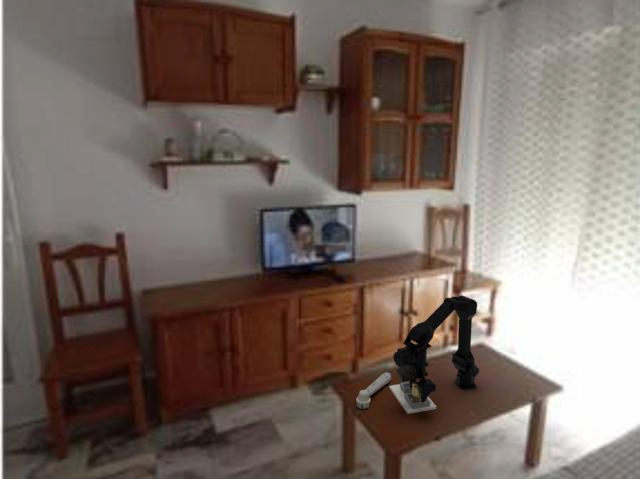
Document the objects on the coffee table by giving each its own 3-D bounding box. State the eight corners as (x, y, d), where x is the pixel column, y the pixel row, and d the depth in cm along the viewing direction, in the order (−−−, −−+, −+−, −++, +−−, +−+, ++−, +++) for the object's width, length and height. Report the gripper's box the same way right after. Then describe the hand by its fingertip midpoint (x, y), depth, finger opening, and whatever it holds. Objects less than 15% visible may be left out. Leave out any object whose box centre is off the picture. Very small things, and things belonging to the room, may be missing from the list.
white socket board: (415, 383, 188) (415, 377, 187) (436, 408, 171) (436, 401, 170) (389, 388, 185) (389, 381, 184) (407, 413, 168) (407, 406, 167)
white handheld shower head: (393, 373, 189) (366, 394, 169) (392, 388, 190) (365, 410, 170) (382, 369, 192) (354, 390, 172) (381, 384, 193) (353, 406, 172)
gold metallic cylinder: (419, 398, 176) (420, 380, 174) (424, 404, 172) (425, 386, 170) (409, 400, 175) (410, 381, 173) (414, 406, 171) (415, 387, 169)
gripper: (389, 350, 176) (388, 385, 180) (409, 375, 158) (408, 413, 162) (415, 347, 179) (414, 381, 182) (438, 370, 161) (436, 408, 165)
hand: (417, 395), depth 173 cm, fingers open, 9 cm apart
